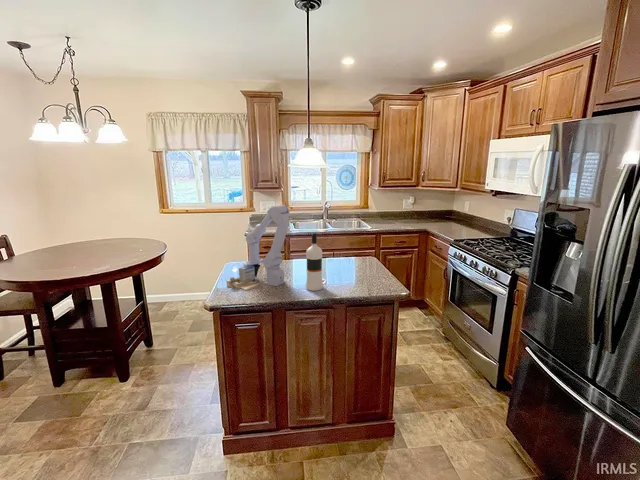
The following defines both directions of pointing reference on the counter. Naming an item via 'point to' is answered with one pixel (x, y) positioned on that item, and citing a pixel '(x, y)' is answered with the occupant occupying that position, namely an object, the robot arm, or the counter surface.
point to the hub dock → (241, 284)
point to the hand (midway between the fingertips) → (255, 276)
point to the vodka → (314, 266)
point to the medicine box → (247, 273)
